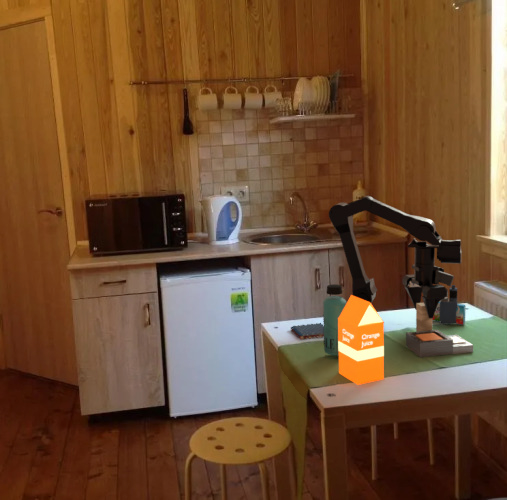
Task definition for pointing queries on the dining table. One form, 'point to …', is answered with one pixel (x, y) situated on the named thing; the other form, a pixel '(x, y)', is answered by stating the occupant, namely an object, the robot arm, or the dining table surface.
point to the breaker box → (437, 344)
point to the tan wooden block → (422, 318)
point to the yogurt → (459, 314)
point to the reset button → (428, 337)
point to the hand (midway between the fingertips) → (423, 313)
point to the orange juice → (360, 342)
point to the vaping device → (449, 307)
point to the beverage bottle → (332, 318)
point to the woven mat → (308, 330)
